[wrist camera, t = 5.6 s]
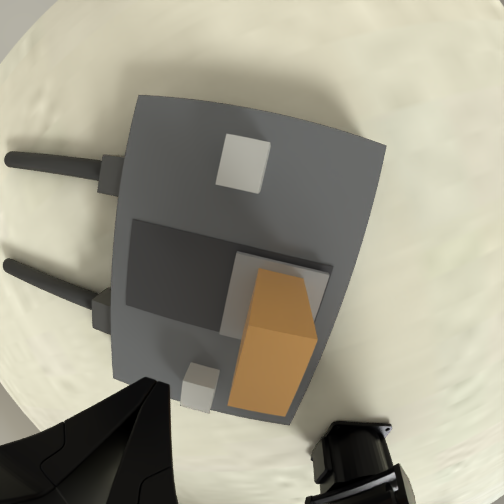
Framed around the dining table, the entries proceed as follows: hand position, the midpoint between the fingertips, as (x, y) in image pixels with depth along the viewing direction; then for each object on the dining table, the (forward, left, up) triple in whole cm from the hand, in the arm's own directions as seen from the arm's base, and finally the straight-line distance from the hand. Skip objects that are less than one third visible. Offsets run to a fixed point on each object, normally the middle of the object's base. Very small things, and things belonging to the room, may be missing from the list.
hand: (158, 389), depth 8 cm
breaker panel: (0, 0, -12) cm, 12 cm away
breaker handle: (-4, 0, -8) cm, 9 cm away
